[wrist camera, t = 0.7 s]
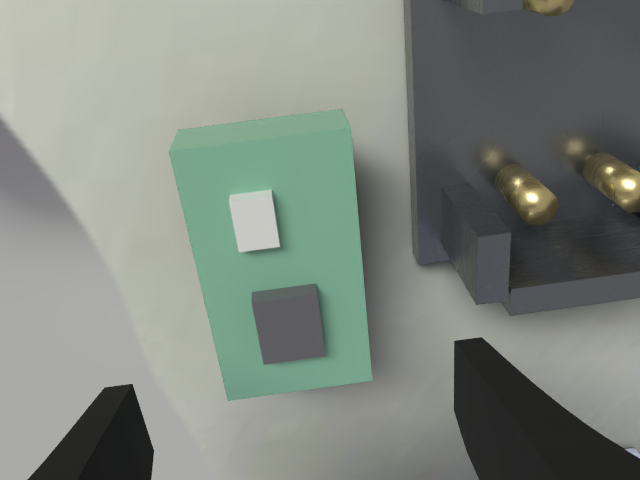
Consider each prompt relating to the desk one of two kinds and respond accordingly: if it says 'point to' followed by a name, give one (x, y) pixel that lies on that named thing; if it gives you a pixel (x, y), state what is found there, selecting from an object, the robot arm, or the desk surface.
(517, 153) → the chassis
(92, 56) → the desk surface
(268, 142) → the board
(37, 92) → the desk surface
